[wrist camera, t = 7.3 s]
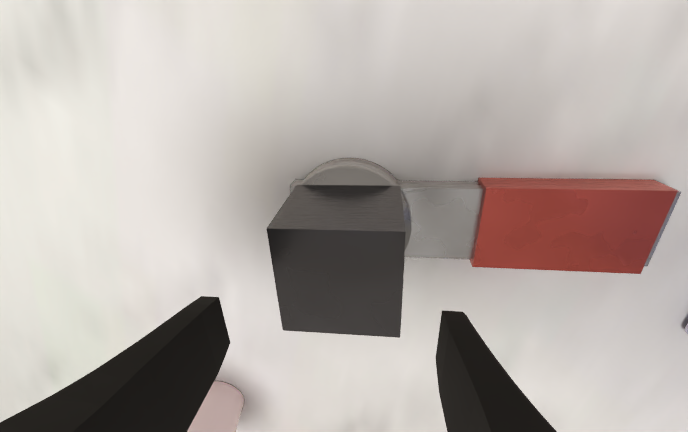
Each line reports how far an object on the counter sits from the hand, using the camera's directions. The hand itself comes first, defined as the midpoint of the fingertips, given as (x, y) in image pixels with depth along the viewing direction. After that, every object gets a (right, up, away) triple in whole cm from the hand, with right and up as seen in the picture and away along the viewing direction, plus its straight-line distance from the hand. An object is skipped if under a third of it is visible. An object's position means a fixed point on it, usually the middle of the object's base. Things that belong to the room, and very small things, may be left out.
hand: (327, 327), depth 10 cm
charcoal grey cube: (+1, +3, +6) cm, 7 cm away
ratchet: (+7, +4, +7) cm, 11 cm away
